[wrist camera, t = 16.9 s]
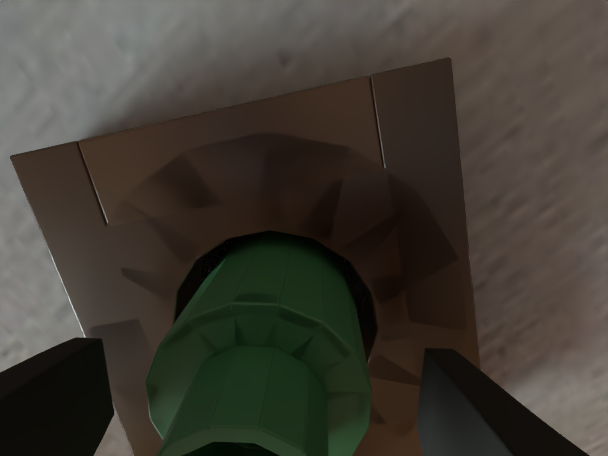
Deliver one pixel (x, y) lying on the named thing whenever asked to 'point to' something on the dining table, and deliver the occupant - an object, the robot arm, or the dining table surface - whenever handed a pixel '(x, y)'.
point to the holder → (271, 226)
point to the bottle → (264, 357)
